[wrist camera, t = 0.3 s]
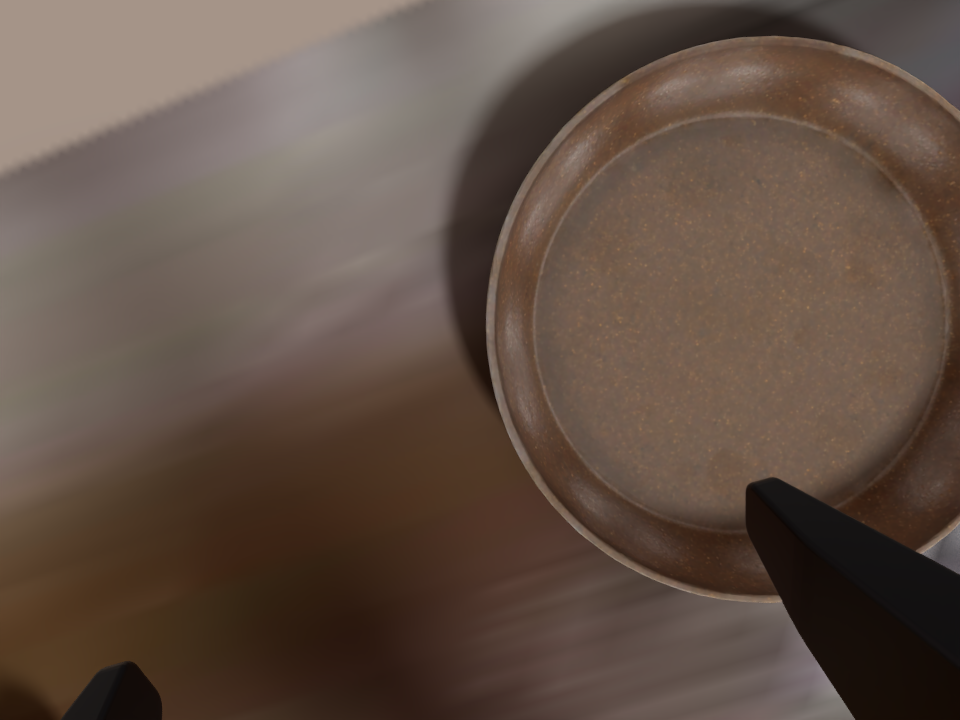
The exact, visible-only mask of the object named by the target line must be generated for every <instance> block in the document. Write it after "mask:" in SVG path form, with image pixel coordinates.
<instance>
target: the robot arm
mask: <svg viewBox="0 0 960 720" xmlns="http://www.w3.org/2000/svg"><path fill="white" fill-rule="evenodd" d="M745 524H746V529H747V533H748V535H749V538H750V540H751V542H752V544H753V546H754V548H755V550H756V552H757V553H758V555H759V557H760V559H761V561H762V563H763V565H764V567H765V569H766V571H767V573H768V575H769V577H770V579H771V581H772V583H773V585H774V587H775V588H776V590H777V592H778V594H779V596H780V598H781V600H782V602H783V604H784V606H785V608H786V610H787V612H788V614H789V616H790V618H791V619H792V621H793V623H794V625H795V627H796V629H797V630H798V632H799V634H800V636H801V637H802V639H803V640H804V642H805V644H806V645H807V647H808V648H809V650H810V651H811V653H812V654H813V656H814V657H815V659H816V660H817V662H818V663H819V665H820V667H821V668H822V670H823V671H824V673H825V674H826V676H827V677H828V679H829V680H830V682H831V683H832V685H833V686H834V688H835V689H836V691H837V692H838V694H839V695H840V697H841V698H842V700H843V701H844V703H845V704H846V706H847V707H848V709H849V711H850V712H851V714H852V715H853V717H854V718H855V720H960V574H958V573H956V572H954V571H952V570H950V569H948V568H946V567H945V566H943V565H941V564H939V563H937V562H935V561H933V560H931V559H929V558H928V557H926V556H924V555H922V554H920V553H918V552H916V551H914V550H913V549H911V548H909V547H907V546H905V545H903V544H901V543H899V542H898V541H896V540H894V539H892V538H890V537H888V536H886V535H884V534H882V533H881V532H879V531H877V530H875V529H873V528H871V527H869V526H867V525H866V524H864V523H862V522H860V521H858V520H856V519H854V518H852V517H850V516H849V515H847V514H845V513H843V512H841V511H839V510H837V509H835V508H834V507H832V506H830V505H828V504H826V503H824V502H822V501H820V500H818V499H817V498H815V497H813V496H811V495H809V494H807V493H805V492H803V491H802V490H800V489H798V488H796V487H794V486H792V485H790V484H788V483H787V482H785V481H783V480H781V479H779V478H775V477H769V478H765V479H762V480H758V481H755V482H751V483H749V484H748V485H747V487H746V492H745ZM61 720H162V702H161V698H160V695H159V693H158V691H157V690H156V689H155V687H154V686H153V685H152V684H151V682H150V681H149V680H148V678H147V677H146V676H145V675H144V673H143V672H142V671H141V670H140V668H139V667H138V666H137V665H136V664H135V663H133V662H131V661H125V662H122V663H118V664H115V665H111V666H108V667H105V668H103V669H101V670H100V671H98V672H97V673H96V675H95V676H94V677H93V678H92V680H91V681H90V682H89V683H88V685H87V686H86V687H85V689H84V690H83V691H82V692H81V694H80V695H79V696H78V698H77V699H76V700H75V701H74V703H73V704H72V705H71V707H70V708H69V709H68V711H67V712H66V713H65V714H64V716H63V717H62V718H61Z"/></svg>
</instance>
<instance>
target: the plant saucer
mask: <svg viewBox="0 0 960 720" xmlns="http://www.w3.org/2000/svg"><path fill="white" fill-rule="evenodd" d="M486 340H487V354H488V361H489V367H490V374H491V379H492V384H493V389H494V393H495V397H496V400H497V404H498V407H499V411H500V414H501V416H502V419H503V422H504V424H505V427H506V429H507V432H508V434H509V437H510V439H511V442H512V444H513V446H514V448H515V450H516V452H517V454H518V456H519V458H520V459H521V461H522V463H523V465H524V467H525V468H526V470H527V471H528V473H529V475H530V476H531V478H532V479H533V481H534V482H535V484H536V485H537V486H538V488H539V489H540V490H541V492H542V493H543V494H544V496H545V497H546V498H547V500H548V501H549V502H550V503H551V504H552V506H553V507H554V508H555V509H556V510H557V511H558V512H559V513H560V514H561V515H562V516H563V517H564V518H565V519H566V521H567V522H568V523H569V524H570V525H571V526H572V527H573V528H575V529H576V530H577V531H578V532H579V533H580V534H581V535H582V536H584V537H585V538H586V539H588V540H589V541H590V542H591V543H593V544H594V545H595V546H597V547H598V548H599V549H601V550H602V551H603V552H605V553H606V554H607V555H609V556H611V557H612V558H614V559H615V560H617V561H618V562H620V563H622V564H623V565H625V566H627V567H629V568H631V569H633V570H635V571H637V572H639V573H641V574H642V575H644V576H647V577H649V578H651V579H653V580H656V581H658V582H661V583H663V584H666V585H669V586H671V587H674V588H677V589H680V590H683V591H686V592H690V593H694V594H697V595H701V596H708V597H712V598H717V599H723V600H732V601H742V602H763V603H775V602H782V600H781V598H780V596H779V594H778V592H777V590H776V588H775V587H774V585H773V583H772V581H771V579H770V577H769V575H768V573H767V571H766V569H765V567H764V565H763V563H762V561H761V559H760V557H759V555H758V553H757V552H756V550H755V548H754V546H753V544H752V542H751V540H750V538H749V535H748V533H747V529H746V524H745V492H746V487H747V485H748V484H749V483H751V482H755V481H758V480H762V479H765V478H769V477H775V478H779V479H781V480H783V481H785V482H787V483H788V484H790V485H792V486H794V487H796V488H798V489H800V490H802V491H803V492H805V493H807V494H809V495H811V496H813V497H815V498H817V499H818V500H820V501H822V502H824V503H826V504H828V505H830V506H832V507H834V508H835V509H837V510H839V511H841V512H843V513H845V514H847V515H849V516H850V517H852V518H854V519H856V520H858V521H860V522H862V523H864V524H866V525H867V526H869V527H871V528H873V529H875V530H877V531H879V532H881V533H882V534H884V535H886V536H888V537H890V538H892V539H894V540H896V541H898V542H899V543H901V544H903V545H905V546H907V547H909V548H911V549H913V550H914V551H916V552H918V553H920V554H922V553H924V552H925V551H927V550H928V549H929V548H931V547H932V546H934V545H935V544H936V543H937V542H939V541H940V540H941V539H942V538H944V537H945V536H946V535H948V534H949V533H950V532H951V531H952V530H953V529H954V528H955V527H956V526H957V525H958V524H959V523H960V111H959V110H958V109H956V108H955V107H954V106H952V105H951V104H950V103H949V102H948V101H947V100H946V99H944V98H943V97H942V96H941V95H939V94H938V93H937V92H936V91H934V90H933V89H932V88H931V87H929V86H928V85H926V84H925V83H923V82H922V81H920V80H919V79H917V78H916V77H914V76H912V75H911V74H909V73H907V72H906V71H904V70H902V69H900V68H899V67H897V66H895V65H893V64H890V63H888V62H886V61H884V60H882V59H880V58H878V57H876V56H874V55H870V54H867V53H864V52H862V51H858V50H855V49H852V48H850V47H847V46H842V45H837V44H834V43H832V42H827V41H821V40H815V39H807V38H799V37H784V36H761V37H740V38H733V39H727V40H721V41H715V42H711V43H707V44H703V45H699V46H695V47H691V48H688V49H685V50H682V51H679V52H676V53H674V54H670V55H668V56H665V57H663V58H660V59H658V60H656V61H654V62H652V63H650V64H648V65H646V66H643V67H641V68H640V69H638V70H636V71H634V72H632V73H630V74H629V75H627V76H625V77H624V78H622V79H620V80H619V81H617V82H615V83H614V84H612V85H611V86H610V87H608V88H607V89H606V90H604V91H603V92H602V93H600V94H599V95H598V96H597V97H595V98H594V99H593V100H592V101H590V102H589V103H588V104H587V105H586V106H584V107H583V108H582V109H581V110H580V111H579V112H578V113H577V114H576V115H575V116H574V117H573V118H572V119H571V120H570V121H569V122H568V123H567V124H566V125H565V126H564V127H563V128H562V129H561V130H560V131H559V132H558V133H557V135H556V136H555V137H554V138H553V139H552V141H551V142H550V143H549V145H548V146H547V147H546V148H545V150H544V151H543V152H542V154H541V155H540V156H539V158H538V159H537V161H536V162H535V164H534V165H533V167H532V168H531V169H530V171H529V173H528V174H527V176H526V178H525V179H524V181H523V183H522V185H521V186H520V188H519V190H518V192H517V194H516V196H515V198H514V200H513V202H512V205H511V207H510V209H509V212H508V214H507V216H506V219H505V221H504V223H503V226H502V229H501V232H500V235H499V238H498V242H497V245H496V249H495V253H494V257H493V261H492V267H491V272H490V278H489V285H488V292H487V305H486Z"/></svg>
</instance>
